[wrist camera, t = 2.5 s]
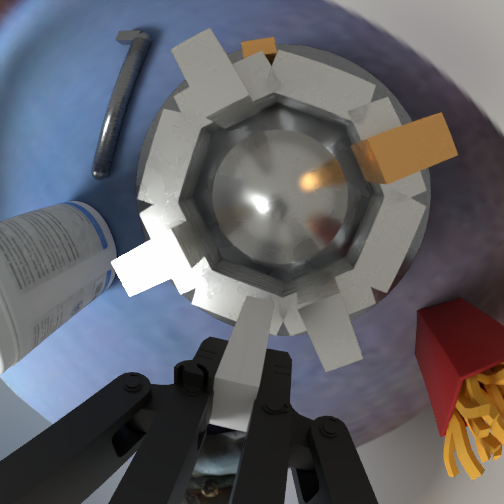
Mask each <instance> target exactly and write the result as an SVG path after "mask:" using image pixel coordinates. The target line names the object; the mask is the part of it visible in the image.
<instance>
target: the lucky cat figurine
mask: <svg viewBox="0 0 504 504" xmlns="http://www.w3.org/2000/svg"><path fill="white" fill-rule="evenodd" d="M245 436H246V432H244V431H232V432H226V433H219V434H206V436H205V439H204V442H203V445H202V448H201V450H200V453H199V456H198V459H197V462H196V464H195V467H194V470H193V473H192V475H191V478H190V481H189V484H188V486H187V489H186V492H185V495H184V497H183V500H182V503H181V504H229V500H230V496H231V493H232V489H233V485H234V481H235V476H236V472H237V468H238V464H239V460H240V456H241V450H242V446H243V443H244V439H245Z"/></svg>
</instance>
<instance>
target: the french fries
mask: <svg viewBox="0 0 504 504" xmlns="http://www.w3.org/2000/svg"><path fill="white" fill-rule="evenodd" d="M415 355H416V358H417V361H418V364H419V367H420V370H421V373H422V376H423V379H424V382H425V385H426V388H427V391H428V394H429V397H430V401H431V404H432V408H433V411H434V415H435V418H436V422H437V426H438V430H439V434H440V436H441V437H443V436H445V435H446V438H445V444H444V461H445V465H446V469H447V472H448V474H449V476H451V477H455V476H456V475H457V474H458V473H459V471H458V468H457V466H456V463H455V457H454V450H455V447H456V451H457V454H458V458H459V460H460V462H461V463H462V465H463V467H464V468H465V470H466V472H467V473H468V475H469V476H470V477H471V479H472V480H474V479H476V478H478V477H479V476H481V475H482V474H483V472H484V471H485V470H484V468H483V467H482V465H481V464H480V463H479V461H478V460H477V458H476V456H475V455H474V453H473V451H472V449H471V446H470V442H469V439H468V435H467V431H466V427H467V426H468V427H469V429H470V430H471V432H472V434H473V436H474V437H475V440H476V446H477V450H478V453H479V456H480V458H481V461H482V462H485V461H487V460H489V459H490V457H491V456H490V454H491V455H492V454H493V459H492V460H495V459H499V458H500V456H501V451H502V445H504V326H503V325H501V324H500V323H499V322H497V321H496V320H494V319H493V318H491V317H490V316H488V315H487V314H485V313H484V312H482V311H481V310H479V309H477V308H476V307H474V306H473V305H471V304H470V303H468V302H467V301H465V300H463V299H462V298H459V299H455V300H452V301H449V302H446V303H442V304H439V305H436V306H432V307H429V308H425V309H421V310H418V311H417V330H416V346H415ZM483 419H484V420H485V421H486V423H487V424H488V425H487V424H486V423H485V421H484V420H483ZM490 430H491V431H492V434H493V435H492V434H491V433H490V432H489V431H490Z"/></svg>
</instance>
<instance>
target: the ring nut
mask: <svg viewBox="0 0 504 504" xmlns="http://www.w3.org/2000/svg"><path fill="white" fill-rule="evenodd" d="M171 52H172V53H173V55H174V57H175V59H176V61H177V63H178V65H179V67H180V69H181V71H182V73H183V75H184V77H185V79H186V81H187V83H188V84H189V86H190V87H188V88H187V89H185V90H183V91H182V92H180V93H178V94H177V95H175V96H173V97H174V99H175V101H176V103H177V105H178V107H179V109H180V111H181V112H177V111H172V110H167V109H163V112H162V115H161V118H160V121H159V124H158V127H157V130H156V133H155V136H154V139H153V143H152V146H151V149H150V153H149V156H148V160H147V163H146V167H145V171H144V174H143V178H142V182H141V186H140V190H139V194H138V198H137V199H139V200H142V201H145V202H147V203H150V204H153V205H152V206H151V207H149V208H147V209H146V210H144V211H142V212H141V213H139V215H140V217H141V219H142V221H143V223H144V225H145V227H146V229H147V231H148V233H149V235H150V237H151V240H149V241H147V242H146V243H144V244H142V245H140V246H138V247H137V248H135V249H133V250H131V251H129V252H128V253H126V254H124V255H122V256H121V257H119V258H117V259H116V260H114V261H112V262H111V263H112V265H113V267H114V269H115V271H116V273H117V274H118V276H119V278H120V280H121V282H122V284H123V285H124V287H125V289H126V291H127V293H128V294H129V296H132V295H135V294H137V293H139V292H141V291H143V290H146V289H148V288H150V287H152V286H155V285H157V284H159V283H161V282H164V281H166V280H168V279H170V278H172V279H173V281H174V283H175V285H176V286H177V288H178V290H179V292H180V294H182V293H185V292H187V291H190V290H192V289H195V288H196V291H195V294H194V298H193V301H192V304H194V305H196V306H198V307H201V308H203V309H206V310H208V311H211V312H213V313H216V314H218V315H221V316H223V317H226V318H228V319H231V320H234V321H236V322H237V319H238V317H239V314H240V311H241V309H242V306H243V304H244V301H245V299H246V296H252V297H257V298H261V299H266V300H271V301H275V302H274V308H273V314H272V320H271V325H270V331H269V334H272V335H275V336H276V335H277V333H278V331H279V329H280V327H281V324H282V322H284V324H285V326H286V328H287V330H288V332H289V334H290V336H292V335H295V334H298V333H301V332H304V331H307V332H308V334H309V336H310V338H311V340H312V343H313V345H314V347H315V349H316V351H317V354H318V356H319V358H320V360H321V363H322V365H323V367H324V369H325V372H327V371H330V370H333V369H336V368H339V367H342V366H345V365H348V364H350V363H353V362H356V361H358V360H361V359H363V357H362V353H361V350H360V347H359V344H358V341H357V337H356V334H355V331H354V328H353V325H352V322H351V319H350V317H349V314H352V313H354V312H357V311H359V310H361V309H364V308H366V307H369V306H371V305H373V304H376V302H375V299H374V296H373V293H372V289H371V287H372V288H375V289H377V290H380V291H382V292H385V293H387V292H388V290H389V288H390V286H391V284H392V282H393V280H394V278H395V276H396V274H397V272H398V270H399V268H400V266H401V264H402V262H403V260H404V258H405V256H406V253H407V251H408V249H409V247H410V245H411V242H412V240H413V238H414V235H415V233H416V231H417V228H418V226H419V223H420V221H421V218H422V216H423V213H424V211H425V208H426V206H425V205H423V204H421V203H419V202H417V201H415V200H414V199H412V198H411V197H413V196H415V195H417V194H420V193H422V192H424V191H427V190H426V187H425V184H424V181H423V178H422V175H421V172H420V171H421V170H423V169H426V168H428V167H431V166H433V165H435V164H438V163H440V162H443V161H445V160H447V159H450V158H452V157H455V156H457V155H458V153H457V150H456V147H455V145H454V142H453V139H452V136H451V134H450V131H449V129H448V126H447V124H446V121H445V119H444V117H443V114H442V112H440V113H437V114H434V115H431V116H428V117H425V118H422V119H419V120H417V121H414V122H411V123H408V124H405V125H401V123H400V120H399V118H398V116H397V114H396V112H395V110H394V108H393V106H392V104H391V102H390V100H389V98H388V97H386V98H383V99H380V100H377V101H374V102H371V99H372V96H373V93H374V90H375V86H376V85H374V84H372V83H370V82H368V81H365V80H363V79H361V78H359V77H356V76H354V75H352V74H349V73H347V72H344V71H342V70H339V69H336V68H334V67H331V66H328V65H326V64H323V63H320V62H317V61H314V60H311V59H308V58H305V57H302V56H299V55H295V54H292V53H289V52H285V51H281V50H278V52H277V55H276V57H275V59H274V62H273V64H272V66H271V65H270V63H269V61H268V60H267V58H266V57H265V55H264V53H263V52H262V51H260V52H258V53H255V54H253V55H251V56H249V57H246V58H244V59H242V60H240V61H238V62H236V63H234V64H233V63H232V62H231V60H230V58H229V57H228V55H227V53H226V52H225V50H224V49H223V47H222V46H221V44H220V42H219V41H218V39H217V38H216V36H215V35H214V33H213V32H212V30H211V29H210V28H208V29H206V30H204V31H203V32H201V33H199V34H197V35H195V36H193V37H191V38H190V39H188V40H186V41H184V42H182V43H181V44H179V45H177V46H176V47H174V48H172V49H171ZM370 102H371V103H370ZM275 103H278V104H281V105H284V106H287V107H290V108H293V109H296V110H299V111H301V112H304V113H307V114H310V115H312V116H315V117H318V118H320V119H323V120H326V121H328V122H331V123H333V124H335V125H338V126H340V127H343V128H344V129H345V131H346V133H347V135H348V137H349V139H350V141H351V144H352V145H351V148H352V150H353V153H354V155H355V157H356V159H357V162H358V164H359V166H360V169H361V171H362V173H363V176H364V178H365V181H367V182H368V183H369V186H370V188H371V191H372V195H371V198H370V200H369V203H368V205H367V208H366V210H365V213H364V215H363V218H362V220H361V223H360V225H359V227H358V230H357V232H356V234H355V237H354V239H353V241H352V244H351V246H350V248H349V250H348V253H347V255H346V256H345V257H342V258H340V259H338V260H335V261H333V262H330V263H328V264H326V265H323V266H321V267H318V268H316V269H313V270H311V271H308V272H306V273H303V274H301V275H299V276H296V277H294V278H291V279H288V280H286V281H283V280H280V279H278V278H275V277H272V276H270V275H267V274H264V273H262V272H259V271H256V270H254V269H251V268H249V267H246V266H243V265H241V264H238V263H235V262H233V261H230V260H228V259H225V258H222V256H221V254H220V252H219V250H218V248H217V246H216V244H215V242H214V240H213V238H212V236H211V234H210V232H209V230H208V228H207V226H206V224H205V222H204V220H203V218H202V216H201V214H200V212H199V210H198V208H197V206H196V204H195V202H194V200H193V196H194V192H195V189H196V186H197V183H198V179H199V176H200V173H201V170H202V167H203V164H204V161H205V158H206V155H207V152H208V149H209V146H210V143H211V140H212V137H213V134H214V133H216V132H218V131H220V130H222V129H223V128H224V129H226V128H228V127H230V126H232V125H234V124H236V123H238V122H240V121H242V120H244V119H246V118H248V117H250V116H252V115H255V114H257V113H259V111H260V110H262V109H264V108H267V107H269V106H271V105H273V104H275Z"/></svg>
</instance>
